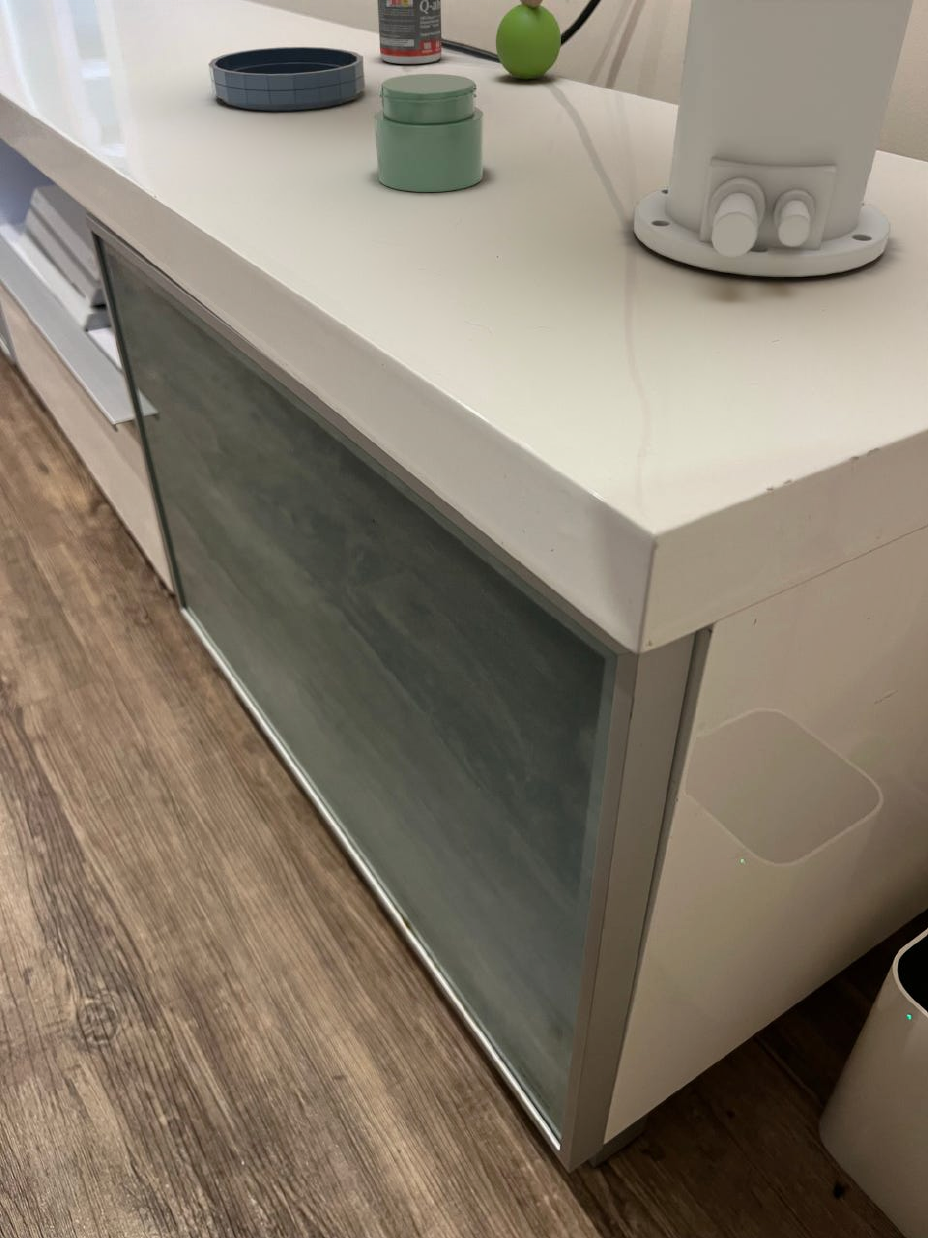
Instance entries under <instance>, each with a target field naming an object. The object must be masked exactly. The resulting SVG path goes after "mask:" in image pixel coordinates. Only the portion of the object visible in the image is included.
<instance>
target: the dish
mask: <svg viewBox="0 0 928 1238" xmlns="http://www.w3.org/2000/svg"><path fill="white" fill-rule="evenodd" d="M208 70H209V77H210V83H211V89H212V94H214V95H215V96H216V98H218V99H221V100H222V102H223V103H224V104H226V105H228V106H232V107H235V108H240V109H245V110H251V111H266V112H267V111H268V112H288V111H289V112H290V111H306V110H316V109H323V108H329V107H334V106H337V105H341V104H345V103H348V102H351V101H352V100H355V99H356V98H357V97H358V96H359V93H360V92H363V91H364V90H365V87H366V82H365V81H366V80H365V66H364V56H363V55H361V54H360V53H357V52H355V51H351V50H346V49H341V48H332V47H322V46H321V47H319V46H317V47H316V46H280V47H267V48H265V47H264V48H256V49H249V50H241V51H236V52H230V53H227V54H222V55H220V56H218V57H215V58H212V59H211V60H210V61H209V63H208Z"/></svg>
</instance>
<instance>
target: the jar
mask: <svg viewBox="0 0 928 1238" xmlns="http://www.w3.org/2000/svg"><path fill="white" fill-rule="evenodd" d="M476 93H477V84H475V81H474V80H473V79H470V78H468V77H465V76H460V75H454V74H443V73H419V74H417V73H416V74H406V75H399V76H395V77H391V78H388V79H385V80H384V81H382V82H381V90H380V91H379V97H380V98H381V103H382V104H381V105H382V109H381V108H380V109H379V110H377V111H376V112H375V113H374V133H375V144H376V145H375V146H376V147H375V148H376V163H377V175H378V176H377V178H378V181H379V183H381V184H382V185H383V186H386V187H388V188H391V189H395V190H399V191H406V192H416V193H441V192H442V193H443V192H450V191H451V192H452V191H457V190H462V189H466V188H469V187H472V186H474V185H476V184H478V183H479V182H481V181H482V179H483V176H484V167H483V166H484V113H483V111H482V110H481V109H479V108H477V107H475V104H476V103H475V99H476V98H477V94H476Z"/></svg>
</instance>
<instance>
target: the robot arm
mask: <svg viewBox="0 0 928 1238" xmlns="http://www.w3.org/2000/svg"><path fill="white" fill-rule="evenodd" d="M913 4H914V0H690V8H689V17H688V24H687V33H686V41H685V48H684V49H685V50H684V57H683V65H682V73H681V81H680V89H679V96H678V97H679V98H678V106H677V114H676V122H675V130H674V138H673V147H672V152H671V153H672V154H671V163H670V170H669V179H668V186H666V187H662V188H660V189H657V190H655V191H652V192H651V193H649V194H647V195H645V196H644V197H643V198H642V199H641V200H640V201H639V202H638V203H637V204H636V207H635V209H634V217H633V232H634V233H635V235H636V237H637V239H638V240H639V241H640V242H641V243H642V244H643V245H645V246H646V247H647V248H648V249H650V250H652V251H653V252H655V253H657V254H659V255H661V256H663V257H666V258H668V259H671V260H672V261H676V262H678V263H682V264H686V265H689V266H693V267H696V268H700V269H704V270H710V271H715V272H719V273H727V274H728V273H729V274H736V275H741V276H742V275H743V276H752V277H768V278H769V277H770V278H801V277H816V276H825V275H830V274H832V275H833V274H837V273H838V274H839V273H844V272H847V271H851V270H854V269H858V268H861V267H863V266H865V265H867V264H869V263H871V262H873V261H875V260H876V259H877V258H878V257H880V256H881V255H882V254H883V253H884V251H885V249H886V246H887V245H888V244H887V243H888V241H889V237H890V233H891V223H890V221H889V220H888V218H887V216H886V215H885V214H884V213H883V212H882V211H880V209H878V207H875V206H874V205H872V204H871V203H868V202H866V201H865V196H866V193H867V192H866V191H867V188H868V184H869V180H870V176H871V172H872V167H873V163H874V160H875V156H876V151H877V147H878V143H879V140H880V137H881V131H882V128H883V124H884V120H885V115H886V111H887V107H888V103H889V99H890V95H891V92H892V87H893V84H894V80H895V76H896V71H897V67H898V63H899V59H900V56H901V51H902V48H903V44H904V40H905V36H906V32H907V28H908V23H909V20H910V15H911V13H912V12H911V11H912V7H913Z"/></svg>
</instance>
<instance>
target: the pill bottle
mask: <svg viewBox="0 0 928 1238" xmlns="http://www.w3.org/2000/svg"><path fill="white" fill-rule="evenodd" d="M376 1H377V20H378V21H377V22H378V37H379V39H378V40H379V54H380V57H381V59H382V60H383V61H385V62H386V63H391V64H398V65H421V64H422V65H423V64H430V63H433V62H436V61H439V60H440V59H441V57H442V50H443V49H442V47H443V46H442V1H441V0H376Z"/></svg>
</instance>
